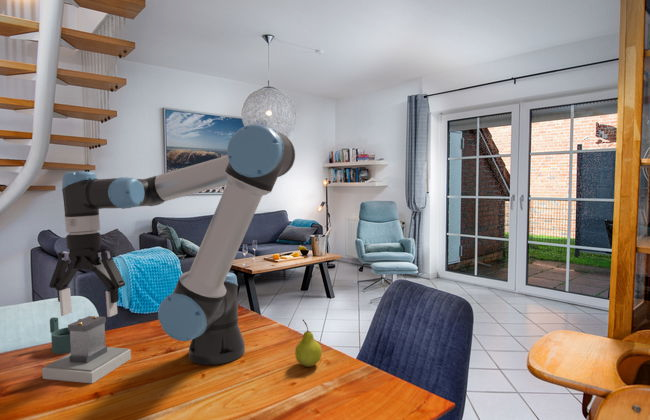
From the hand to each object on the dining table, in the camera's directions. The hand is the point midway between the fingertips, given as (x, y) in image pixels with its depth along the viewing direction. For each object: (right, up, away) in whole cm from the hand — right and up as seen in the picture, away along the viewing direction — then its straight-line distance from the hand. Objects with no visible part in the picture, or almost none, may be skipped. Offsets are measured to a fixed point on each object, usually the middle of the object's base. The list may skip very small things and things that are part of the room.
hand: (89, 314), depth 103 cm
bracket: (-14, -14, +15) cm, 25 cm away
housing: (-1, -11, +1) cm, 11 cm away
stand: (-1, -14, +1) cm, 14 cm away
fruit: (+57, -14, +1) cm, 58 cm away
